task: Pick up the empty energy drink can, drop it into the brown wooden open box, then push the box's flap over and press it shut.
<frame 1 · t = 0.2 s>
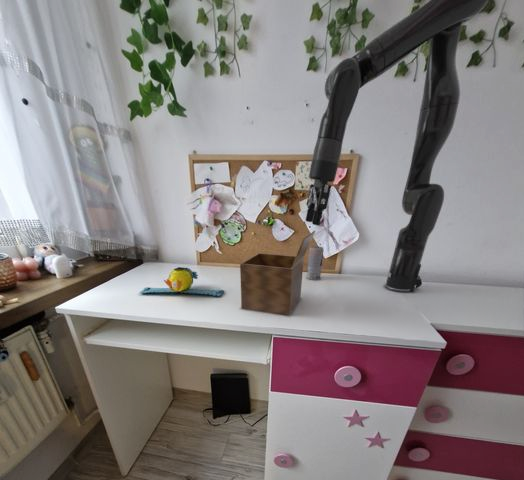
hand: (312, 223, 85), 22 cm above the table, tool pointing down, fingers open, 8 cm apart
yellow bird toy: (183, 292, 96), on the table
energy drink: (313, 278, 111), on the table
brown wooden open box: (272, 303, 87), on the table
flap: (304, 247, 76), point 18 cm above the table, hinge at 110.0°
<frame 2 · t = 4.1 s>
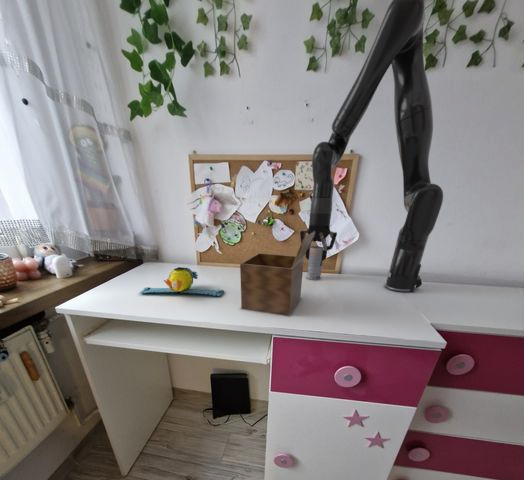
hand: (315, 259, 107), 7 cm above the table, tool pointing down, fingers closed on energy drink, 5 cm apart
energy drink: (313, 278, 111), on the table, touching gripper
everything else where it was.
when the fingers open (20 cm above the table, at t = 11.0 s): energy drink drops 12 cm, resting on brown wooden open box.
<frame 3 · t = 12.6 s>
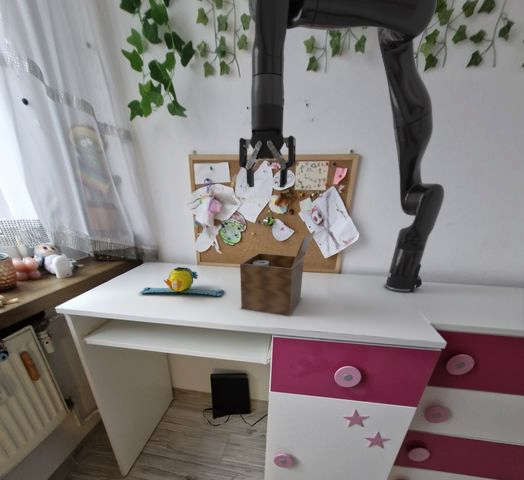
hand: (266, 187, 71), 32 cm above the table, tool pointing down, fingers open, 8 cm apart
energy drink: (262, 300, 88), resting on brown wooden open box
everything else where it was.
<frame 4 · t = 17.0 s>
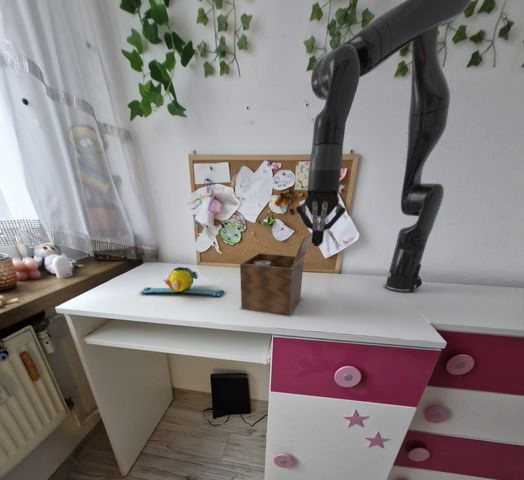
hand: (316, 245, 74), 18 cm above the table, tool pointing down, fingers closed
flap: (304, 247, 76), point 18 cm above the table, hinge at 109.7°, touching gripper
everything else where it was.
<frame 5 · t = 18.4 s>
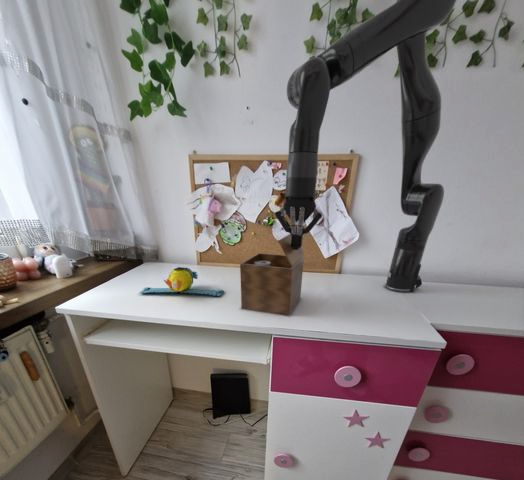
hand: (296, 249, 76), 17 cm above the table, tool pointing down, fingers closed
flap: (292, 248, 77), point 17 cm above the table, hinge at 56.9°, touching gripper
everything else where it was.
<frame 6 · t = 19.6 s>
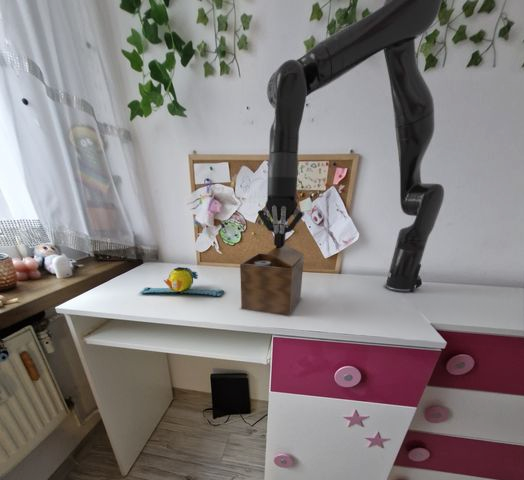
hand: (279, 247, 78), 17 cm above the table, tool pointing down, fingers closed
flap: (287, 253, 78), point 16 cm above the table, hinge at 23.6°
everything else where it was.
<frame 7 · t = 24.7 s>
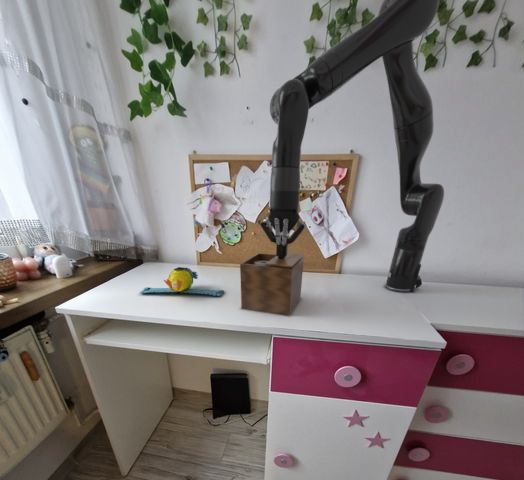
hand: (281, 258, 79), 14 cm above the table, tool pointing down, fingers closed
flap: (285, 259, 79), point 14 cm above the table, hinge at -0.2°, touching gripper
everything else where it was.
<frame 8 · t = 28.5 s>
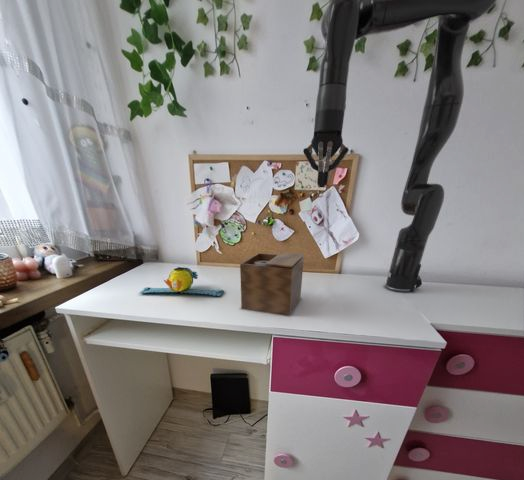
hand: (322, 187, 81), 32 cm above the table, tool pointing down, fingers closed
flap: (285, 259, 79), point 14 cm above the table, hinge at -0.2°
everything else where it was.
at the end: energy drink inside the target area in the brown wooden open box (3.4 cm from its centre), point 0.3 cm above the brown wooden open box's base; flap at +0° (first picture: +110°); the gripper is holding nothing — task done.
